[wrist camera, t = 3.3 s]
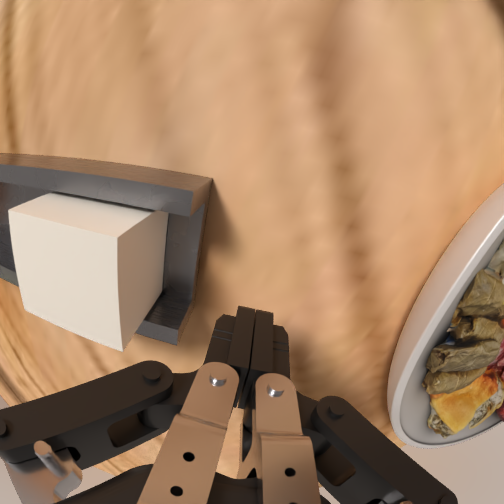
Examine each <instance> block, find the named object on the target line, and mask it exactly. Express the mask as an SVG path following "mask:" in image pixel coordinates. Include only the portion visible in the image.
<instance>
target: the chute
mask: <svg viewBox="0 0 504 504" xmlns="http://www.w3.org/2000/svg"><path fill="white" fill-rule="evenodd" d="M212 179H213V178H208V177H203V176H197V175H192V174H186V173H180V172H174V171H168V170H162V169H156V168H149V167H142V166H135V165H128V164H121V163H113V162H105V161H96V160H87V159H77V158H67V157H56V156H43V155H27V154H7V153H0V278H2V279H4V280H6V281H8V282H10V283H12V284H14V285H16V286H18V287H19V283H18V278H17V273H16V268H15V262H14V256H13V249H12V242H11V234H10V225H9V213H8V210H9V209H11V208H14V207H16V206H18V205H21V204H23V203H26V202H28V201H30V200H33V199H35V198H38V197H40V196H43V195H46V194H48V193H51V192H54V191H58V192H63V193H69V194H74V195H80V196H85V197H91V198H96V199H101V200H107V201H112V202H117V203H122V204H127V205H132V206H138V207H143V208H148V209H153V210H158V211H163V212H167V213H169V214H168V223H167V233H166V244H165V256H164V269H163V285H162V292H161V294H160V295H159V297H158V298H157V300H156V301H155V303H154V304H153V306H152V307H151V309H150V311H149V312H148V314H147V315H146V317H145V318H144V320H143V321H142V323H141V324H140V326H139V327H138V329H137V331H136V332H135V333H137V334H140V335H143V336H147V337H150V338H153V339H157V340H160V341H163V342H167V343H170V344H174V345H177V344H178V342H179V340H180V338H181V335H182V333H183V331H184V328H185V326H186V324H187V322H188V320H189V317H190V315H191V313H192V311H193V308H194V300H195V292H196V284H197V276H198V269H199V261H200V254H201V247H202V241H203V234H204V227H205V221H206V215H207V208H208V202H209V196H210V191H211V185H212Z"/></svg>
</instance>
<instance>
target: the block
mask: <svg viewBox="0 0 504 504" xmlns="http://www.w3.org/2000/svg"><path fill="white" fill-rule="evenodd" d="M8 213H9V225H10V234H11V242H12V249H13V256H14V262H15V268H16V273H17V278H18V283H19V288H20V292H21V296H22V300H23V304H24V308H25V310H26V311H28V312H30V313H32V314H34V315H36V316H38V317H40V318H42V319H44V320H46V321H48V322H51V323H53V324H55V325H57V326H59V327H61V328H64V329H66V330H68V331H71V332H73V333H75V334H78V335H80V336H82V337H85V338H87V339H90V340H92V341H95V342H97V343H100V344H102V345H105V346H108V347H110V348H113V349H116V350H119V351H122V352H123V351H124V349H125V348H126V346H127V345H128V343H129V342H130V340H131V338H132V337H133V335H134V334H135V332H136V331H137V329H138V327H139V326H140V324H141V323H142V321H143V320H144V318H145V317H146V315H147V314H148V312H149V311H150V309H151V307H152V306H153V304H154V303H155V301H156V300H157V298H158V297H159V295H160V294H161V292H162V285H163V269H164V256H165V244H166V233H167V223H168V214H169V213H167V212H163V211H158V210H153V209H148V208H143V207H138V206H132V205H127V204H122V203H117V202H112V201H107V200H101V199H96V198H91V197H85V196H80V195H74V194H69V193H63V192H58V191H54V192H51V193H48V194H46V195H43V196H40V197H38V198H35V199H33V200H30V201H28V202H26V203H23V204H21V205H18V206H16V207H14V208H11V209H9V210H8Z"/></svg>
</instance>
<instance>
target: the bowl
mask: <svg viewBox="0 0 504 504" xmlns="http://www.w3.org/2000/svg"><path fill="white" fill-rule="evenodd" d="M387 404H388V412H389V417H390V420H391V424H392V427H393V430H394V432H395V434H396V435H397V437H398V438H399V439H400V440H401V441H403V442H404V443H406V444H408V445H410V446H413V447H417V448H427V449H428V448H429V449H432V448H442V447H447V446H452V445H455V444H459V443H462V442H465V441H467V440H470V439H472V438H475V437H477V436H479V435H481V434H483V433H485V432H487V431H489V430H491V429H492V428H494V427H496V426H497V425H499V424H501V423H502V422H504V183H503V184H502V185H501V186H500V187H498V188H497V189H496V190H495V191H494V192H493V193H492V194H491V195H490V196H489V197H488V198H487V199H486V200H485V201H484V202H483V203H482V204H481V205H480V206H479V207H478V209H477V210H476V211H475V212H474V213H473V214H472V215H471V217H470V218H469V219H468V220H467V222H466V223H465V224H464V225H463V227H462V228H461V229H460V231H459V232H458V233H457V235H456V236H455V237H454V239H453V240H452V242H451V243H450V245H449V246H448V247H447V249H446V250H445V252H444V253H443V255H442V256H441V258H440V259H439V261H438V263H437V264H436V266H435V268H434V269H433V271H432V272H431V274H430V276H429V278H428V279H427V281H426V283H425V284H424V286H423V288H422V290H421V292H420V294H419V295H418V297H417V299H416V301H415V303H414V305H413V307H412V310H411V312H410V314H409V316H408V318H407V320H406V323H405V325H404V327H403V330H402V332H401V335H400V338H399V340H398V343H397V346H396V349H395V352H394V355H393V359H392V363H391V367H390V373H389V378H388V387H387Z"/></svg>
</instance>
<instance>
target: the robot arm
mask: <svg viewBox="0 0 504 504" xmlns="http://www.w3.org/2000/svg"><path fill="white" fill-rule="evenodd" d="M288 344H289V342H288V334H287V332H286V331H285V329H284V327H282V326H277V325H273V313H272V312H267V311H262V310H257V309H256V312H255V309H252V308H248V307H243V306H238V310H237V314H236V317H234V316H230V315H225V314H223V315H222V316H221V317H220V318H219V319H218V320H217V321H216V324H215V328H214V331H213V334H212V338H211V341H210V344H209V348H208V351H207V355H206V358H205V361H204V364H203V365H202V366H201V367H200V368H199V369H198V370H196V371H194V372H191V373H172V371H171V370H170V369H169V368H168V367H167V366H166V365H165V364H163V363H161V362H158V361H143V362H140V363H137V364H135V365H132V366H130V367H127V368H125V369H122V370H119V371H117V372H114V373H111V374H109V375H106V376H103V377H101V378H98V379H95V380H92V381H89V382H87V383H84V384H81V385H78V386H75V387H72V388H69V389H66V390H63V391H60V392H57V393H54V394H51V395H48V396H45V397H42V398H39V399H35V400H32V401H29V402H26V403H22V404H19V405H15V406H12V407H9V408H5V409H1V410H0V457H1V459H2V460H3V461H4V463H5V466H6V468H7V471H8V473H9V476H10V478H11V480H12V483H13V485H14V487H15V490H16V492H17V494H18V496H19V498H20V500H21V502H22V504H331V503H330V502H329V501H328V500H327V499H326V498H324V497H323V496H322V495H320V493H319V486H318V482H319V483H320V484H321V485H322V486H323V487H324V488H325V489H326V490H327V491H328V492H329V493H330V494H331V495H332V496H333V497H334V498H335V499H336V500H337V501H339V502H340V504H458V501H457V498H456V496H455V494H454V493H453V492H452V491H450V490H449V489H448V488H447V487H446V486H444V485H443V484H442V483H441V482H439V481H438V480H437V479H435V478H434V477H433V476H432V475H431V474H429V473H428V472H427V471H426V470H425V469H423V468H422V467H421V466H420V465H419V464H417V463H416V462H415V461H413V459H411V458H410V457H409V456H408V455H407V454H405V453H404V452H403V451H402V450H401V449H400V448H399V447H397V446H396V445H395V444H394V443H393V442H392V441H390V440H389V439H388V438H387V437H386V436H385V435H384V434H383V433H381V432H380V431H379V430H378V429H377V428H376V427H375V426H373V425H372V424H371V423H370V422H369V421H368V420H367V419H366V418H365V417H363V416H362V415H361V414H360V413H359V412H358V411H357V410H356V409H355V408H354V407H353V406H351V405H350V404H349V403H348V402H347V401H346V400H344V399H342V398H340V397H336V396H327V397H324V398H322V399H321V400H320V401H319V402H318V401H316V400H313V399H311V398H308V397H306V396H303V395H302V394H300V393H299V392H298V391H296V388H295V386H294V384H293V382H292V381H291V380H290V364H289V346H288ZM238 400H239V403H238ZM237 403H238V408H241V409H244V415H243V419H242V422H241V425H240V453H239V469H238V474H237V479H233V478H230V477H227V476H225V475H222V474H220V473H217V472H216V468H217V464H218V461H219V457H220V453H221V450H222V446H223V442H224V439H225V435H226V431H227V426H228V422H229V419H230V416H231V413H232V410H233V407H235V408H236V406H237ZM168 429H169V431H168V433H167V435H166V437H165V440H164V442H163V444H162V447H161V449H160V451H159V454H158V456H157V458H156V461H155V463H154V464H148V465H142V466H138V467H135V468H132V469H130V470H128V471H126V472H124V473H122V474H120V475H118V476H116V477H114V478H112V479H110V480H108V481H105V482H104V483H102V484H99V485H97V486H95V487H93V488H90V489H88V490H86V491H83V492H81V493H79V494H76V495H74V496H71V497H69V498H66V497H67V495H68V494H69V493H70V492H71V491H73V490H74V489H76V488H77V487H78V486H79V485H80V484H81V481H82V471H81V470H83V469H86V468H89V467H91V466H94V465H96V464H98V463H101V462H103V461H105V460H108V459H110V458H112V457H115V456H117V455H119V454H121V453H123V452H126V451H128V450H130V449H132V448H134V447H136V446H138V445H140V444H142V443H144V442H146V441H148V440H150V439H152V438H154V437H156V436H158V435H160V434H162V433H164V432H166V431H167V430H168Z"/></svg>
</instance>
